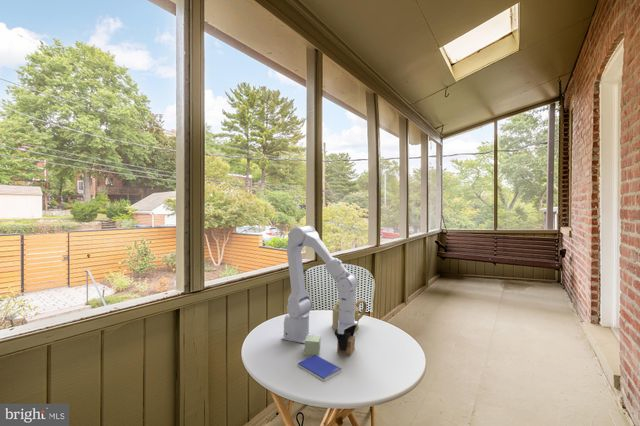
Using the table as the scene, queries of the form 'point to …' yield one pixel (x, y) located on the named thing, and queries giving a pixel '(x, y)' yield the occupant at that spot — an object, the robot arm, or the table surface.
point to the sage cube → (312, 345)
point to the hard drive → (320, 367)
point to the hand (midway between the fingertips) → (346, 345)
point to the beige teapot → (357, 316)
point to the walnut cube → (348, 346)
